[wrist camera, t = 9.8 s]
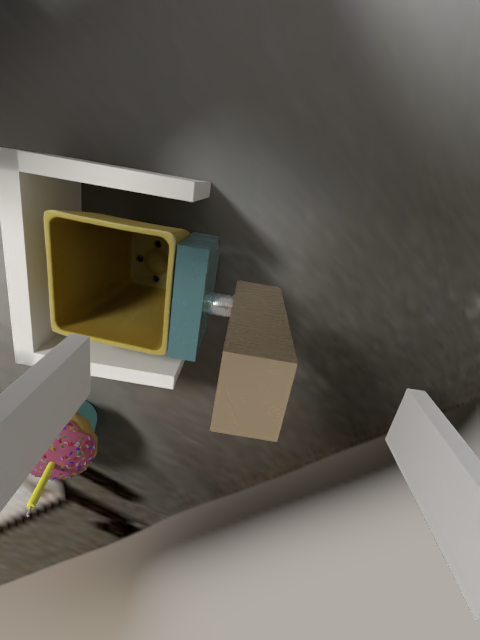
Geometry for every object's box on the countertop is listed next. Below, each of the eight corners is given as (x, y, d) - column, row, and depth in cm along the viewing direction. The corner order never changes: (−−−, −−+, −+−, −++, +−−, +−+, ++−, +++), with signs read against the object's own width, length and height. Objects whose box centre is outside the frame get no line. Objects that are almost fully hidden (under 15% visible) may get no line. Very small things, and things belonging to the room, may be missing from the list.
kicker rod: (199, 227, 29) (124, 285, 12) (280, 241, 29) (310, 317, 12) (189, 313, 32) (118, 450, 15) (262, 326, 32) (268, 475, 16)
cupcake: (119, 395, 37) (59, 486, 26) (107, 452, 40) (50, 555, 29) (41, 373, 36) (-55, 457, 25) (35, 432, 39) (-52, 530, 28)
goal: (62, 155, 28) (-8, 145, 20) (211, 182, 28) (194, 181, 21) (68, 323, 34) (15, 363, 26) (191, 344, 34) (173, 389, 27)
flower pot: (110, 296, 33) (49, 333, 24) (111, 203, 29) (40, 208, 21) (198, 314, 32) (165, 358, 24) (209, 220, 29) (176, 233, 20)
